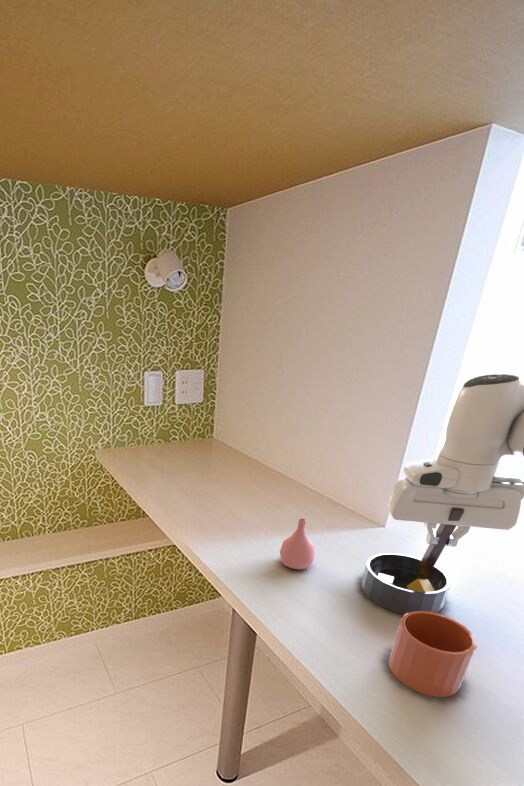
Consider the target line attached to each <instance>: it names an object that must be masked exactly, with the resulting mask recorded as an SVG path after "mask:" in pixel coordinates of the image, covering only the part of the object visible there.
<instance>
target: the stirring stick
mask: <svg viewBox="0 0 524 786" xmlns="http://www.w3.org/2000/svg"><path fill="white" fill-rule="evenodd" d="M463 513H464V509H463V508H454V507H453V508H452V510H451V513H450V516H449V519H448V521H459V520H460V518H461V517H462V515H463ZM438 525H439V526H438V527H437V529H436V531H435V533H437V535H438V536H439V540H438V541H437V542H438V544H437V545H434V544H428V547H427V549H426V551H425V552H424V554H423V556H422V558H421V559H422V560H421V562H420V564H419V566H418V568H417V570H416V575H417V578H421V579H427V578H428V576H429V574H430V572H431V570H432V569H433V567H434V565H435V566H436V563H437V561H438V560H439V558H440V556H441V554H442V552H443V551H444V549H445V548H446V546H447V545H446V544H447V542H448V540H449V538H450V536H451V535H452V533H453V532H454V531H455V530H456V528H457V525H448V524H438Z"/></svg>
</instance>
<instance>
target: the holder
mask: <svg viewBox="0 0 524 786" xmlns="http://www.w3.org/2000/svg"><path fill="white" fill-rule="evenodd" d="M477 647H478V645H477V639H476V637H475V636H474V634H473V633H472V631H470V630H469V629H468V628H467V627H466V626H464V625H463V624H461V623H460V622H459V621H457V620H455V619H453V618H451V617H448V616H446V615H444V614H440V613H433V612H426V611H413V612H410V613H407V614H403V616H402V617H401V618H400V621H399V623H398V628H397V630H396V635H395V638H394V641H393V644H392V647H391V651H390V654H389V658H388V666H389V669H390V671H391V673H392V674H393V676H394V677H395V678H396V679H397V680H398V681H399V682H401V683H402V684H403V685H405V686H406V687H408V688H410V689H411V690H413V691H415V692H416V693H420V694H423V695H425V696H430V697H435V698H447V697H451V696H453V695H456V693H458V691H459V690H460V689H461V686H462V684H463V682H464V679H465V677H466V674H467V673H468V669H469V666H470V665H471V662H472V660H473V657H474V654H475V652H476V650H477Z"/></svg>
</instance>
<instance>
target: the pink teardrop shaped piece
mask: <svg viewBox="0 0 524 786" xmlns="http://www.w3.org/2000/svg"><path fill="white" fill-rule="evenodd" d="M306 523H307V519H305V518H303V517H302V518H301V517H300V518H298V522H297V527H296V528H297V529H296V530H295V531H294V532H293V533H292V535H290V536H289V537H287V538H285V539H284V540H283V541H282V544H281V546H280V549H279V556H280V560H281V563H282V564H283V565H284V566H285V567H288V568H290V569H292V570H306V569H308V568H309V567H310V566H311V565H312V563H313V561H314V559H315V557H316V556H315V555H316V554H315V551H316V550H315V545H314V544H313V543H312V541H311V540H310V539H309V537H308V535H307V533H306V530H305V529H306Z"/></svg>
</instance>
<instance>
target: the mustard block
mask: <svg viewBox="0 0 524 786" xmlns="http://www.w3.org/2000/svg"><path fill="white" fill-rule="evenodd" d="M407 588H408V590H410V591H418V592H435V591H434V589H433V587H432V585H431V584H430V582H429V580H428V579H417V580H415V581H414V582H412V583H410V584H409V585H407Z"/></svg>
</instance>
